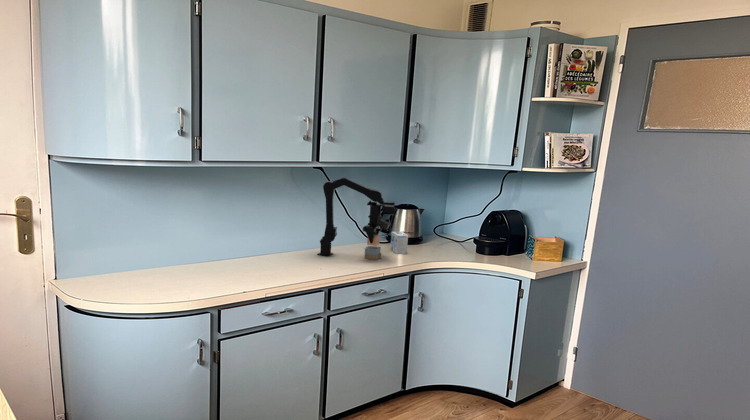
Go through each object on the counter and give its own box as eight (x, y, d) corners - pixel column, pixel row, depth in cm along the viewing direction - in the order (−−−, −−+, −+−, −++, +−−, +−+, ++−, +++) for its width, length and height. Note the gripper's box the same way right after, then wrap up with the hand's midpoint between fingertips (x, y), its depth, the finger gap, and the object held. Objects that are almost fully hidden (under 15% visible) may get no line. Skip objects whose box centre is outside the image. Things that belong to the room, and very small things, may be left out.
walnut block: (376, 260, 264) (377, 255, 264) (364, 259, 266) (364, 253, 266) (381, 258, 271) (381, 252, 270) (369, 256, 273) (369, 250, 272)
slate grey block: (377, 255, 264) (377, 249, 263) (364, 253, 265) (364, 248, 265) (380, 252, 271) (380, 247, 270) (367, 250, 272) (368, 245, 272)
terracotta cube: (375, 245, 264) (376, 236, 263) (367, 244, 266) (367, 235, 265) (379, 244, 269) (379, 235, 268) (370, 242, 270) (370, 233, 270)
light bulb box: (389, 249, 290) (391, 231, 289) (400, 249, 292) (402, 231, 291) (396, 254, 280) (397, 235, 278) (407, 253, 282) (408, 235, 281)
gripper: (383, 218, 253) (381, 247, 256) (394, 213, 271) (392, 241, 273) (363, 215, 257) (361, 244, 259) (375, 210, 274) (373, 238, 277)
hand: (373, 242), depth 267 cm, fingers closed on terracotta cube, 5 cm apart
